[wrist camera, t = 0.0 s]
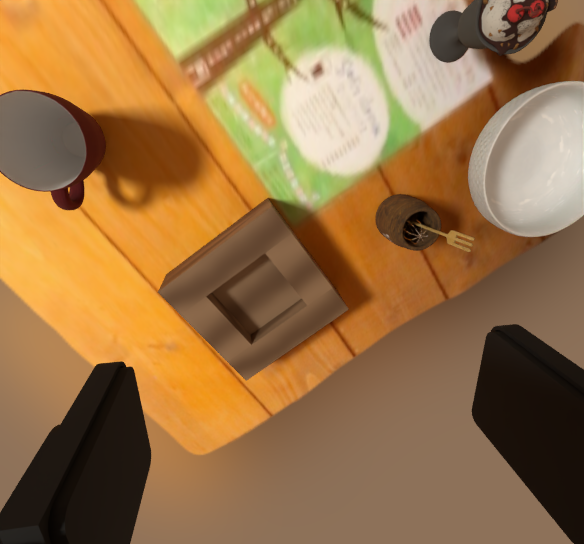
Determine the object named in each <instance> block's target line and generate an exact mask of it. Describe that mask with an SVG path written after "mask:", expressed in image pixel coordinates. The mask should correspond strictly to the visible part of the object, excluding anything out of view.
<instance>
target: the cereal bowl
mask: <svg viewBox="0 0 584 544" xmlns="http://www.w3.org/2000/svg"><path fill="white" fill-rule="evenodd" d="M468 170H469V172H468V179H469V180H468V181H469V188H470V193H471V196H472V199H473V201H474V204H475V205H476V207H477V208H478V210H479V212H480V213H481V214H482V215H483V216H484V217H485V218H486V219H487V220H488V221H490V223H492V224H494V225H495V226H496V227H499V228H500V229H502V230H504V231H506V232H509V233H511V234H515V235H517V236H524V237H539V236H545V235H549V234H552V233H555V232H558V231H560V230H562V229H564V228H566V227H568V226H569V225H571V224H573V223H574V222H576V221H577V220H578V219H580V218H581V217H582V216H583V215H584V82H580V81H564V82H558V83H553V84H548V85H544V86H541V87H538V88H534V89H532V90H530V91H526V92H525V93H523V94H521V95H519V96H518V97H516V98H514V99H512V100H511V101H510V102H508V103H507V104H505V106H503V107H502V108H501V109H500V110H499V111H498V112H497V113H495V115H494V116H493V117H492V118H491V119H490V120H489V122H488V123H487V124H486V126H485V127H484V129H483V131H482V132H481V134H480V135H479V137H478V139H477V141H476V143H475V146H474V147H473V151H472V155H471V159H470V163H469V169H468Z"/></svg>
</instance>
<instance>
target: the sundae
mask: <svg viewBox="0 0 584 544" xmlns="http://www.w3.org/2000/svg"><path fill="white" fill-rule="evenodd" d="M557 2H558V0H474V1H473V2H472V3H471V4H470V5H469V6H468V7H467V8H466V9H465V10H464V12H463V13H461V12H458V11H448V12H445V13H444V14H442V15H441V16H440V17H438V19H437V20H436V21H435V23H434V24H433V26H432V29H431V33H430V47H431V50H432V52H433V54H434V56H435V57H436V58H438V59H439V60H441V61H443V62H452V61H455V60H457V59H459V58H460V57H461V56H462V55H463V54H464V53H465V52H466V50H467V49H468V47H469V48H474V49H484V48H489V49H491V50H492V51H495V52H497V54H498V55H503V54H512V53H516V52H518V51H520V50H521V49H523V48H524V47H526V46H527V45H528V44H529V43H530V42H531V41H532V40H533V39H534V38H535V36H536V35H537V34H538V32H539V31H540V30H541V28H542V26H543V24H544V21H545V18H546V15H547V12H549V11H551V10H553V9H555V8H556V6H557Z"/></svg>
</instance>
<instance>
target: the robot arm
mask: <svg viewBox="0 0 584 544" xmlns="http://www.w3.org/2000/svg"><path fill="white" fill-rule="evenodd" d="M472 416H473V419H474V421H475V423H476V424H477V426H478V427H479V428H480V429H481V430H482V432H483V433H484V434H485V435H486V437H487V438H488V439H489V440H490V442H491V443H492V444H493V445H494V447H495V448H496V449H497V450H498V451H499V453H500V454H501V455H502V456H503V458H504V459H505V460H506V461H507V463H508V464H509V465H510V466H511V467H512V469H513V470H514V471H515V472H516V474H517V475H518V476H519V477H520V478H521V480H522V481H523V482H524V483H525V485H526V486H527V487H528V488H529V490H530V491H531V492H532V493H533V495H534V496H535V497H536V498H537V499H538V501H539V502H540V503H541V504H542V506H543V507H544V508H545V509H546V511H547V512H548V513H549V514H550V516H551V517H552V518H553V519H554V520H555V522H556V523H557V524H558V525H559V527H560V528H561V529H562V530H563V532H564V533H565V534H566V535H567V536H568V538H569V539H570V540H571V541H572V542H573V543H574V544H584V370H583V369H582V368H580V367H579V366H577V365H576V364H575V363H573V362H572V361H570V360H568V359H567V358H566V357H564V356H563V355H562V354H560V353H559V352H557V351H556V350H554V349H553V348H552V347H550V346H549V345H547V344H546V343H544V342H543V341H541V340H540V339H538V338H537V337H536V336H534V335H532V334H531V333H530V332H528V331H527V330H526V329H524V328H523V327H521V326H519V325H516V324H513V325H503V326H496V327H494V328H493V329H492V330H491V332H489V333H488V334H487V336H486V340H485V345H484V351H483V355H482V360H481V365H480V371H479V376H478V381H477V386H476V391H475V396H474V401H473V406H472ZM150 463H151V448H150V443H149V439H148V434H147V429H146V425H145V420H144V415H143V410H142V406H141V401H140V396H139V391H138V387H137V382H136V377H135V373H134V369H133V367H126V365H125V363H124V362H112V363H101V364H97V365H96V366H95V368H94V369H93V371H92V373H91V374H90V376H89V378H88V379H87V381H86V383H85V385H84V386H83V388H82V390H81V391H80V393H79V394H78V396H77V398H76V400H75V401H74V403H73V405H72V406H71V408H70V410H69V411H68V413H67V415H66V416H65V418H64V420H63V421H62V423H61V425H57V426H56V427H54V428H53V429H52V430H51V432H50V433H49V435H48V436H47V438H46V439H45V441H44V443H43V444H42V446H41V447H40V449H39V451H38V452H37V454H36V455H35V457H34V459H33V460H32V462H31V464H30V465H29V467H28V468H27V470H26V472H25V473H24V475H23V477H22V478H21V480H20V481H19V483H18V485H17V486H16V488H15V490H14V491H13V493H12V494H11V496H10V498H9V499H8V501H7V503H6V504H5V506H4V508H3V509H2V511H1V512H0V544H130V542H131V538H132V534H133V530H134V526H135V522H136V518H137V515H138V511H139V507H140V503H141V499H142V495H143V491H144V488H145V483H146V480H147V476H148V472H149V468H150Z"/></svg>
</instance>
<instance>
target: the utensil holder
mask: <svg viewBox="0 0 584 544" xmlns="http://www.w3.org/2000/svg"><path fill="white" fill-rule="evenodd" d="M376 225H377V228H378V230H379V231H380V233H381V234H382V235H383V236H384V237H386V238H387V239H388V240H390V241H391V242H393V243H394V244H396V245H398V246H400V247H404V248H407V249H410V250H423V249H426V248H428V247H429V246H431V245H432V244H433V243H434V242H435V241H436V239H437V238H438V236H439V234H440V235H442V236H445V237H446V238H447V243H448V244H450V245H452V246H455V247H457V248H460V249H462V250H465V251H468V252H471V250H470V249H468V248H466V247H464V246H461V245H459V244H456V243H455V241H458V242H461V243H463V244H466V245H468V246H472V245H473V244H472V243H469V242H467V241H464V240H462V239H459V238H457V235H458V236H461V237H464V238H467V239H469V240H472V241H473V240H474V238H473V237H470V236H468V235H465V234H462V233H460V232H457V231H454V230H451V231H450V232H449V233H448V234H446V233H443V232H441V221H440V218H439V216H438V214H437V213H436V212H435V211H434V210H433V209H432V208H430V207H429V206H428V205H427V204H426V203H424V202H423V201H421V200H419V199H416V198H414V197H411V196H408V195H402V194H398V195H393V196H391V197H389V198H387V199H386V200H384V201H383V202H382V203H381V205H380V206H379V208H378V210H377V213H376Z"/></svg>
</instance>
